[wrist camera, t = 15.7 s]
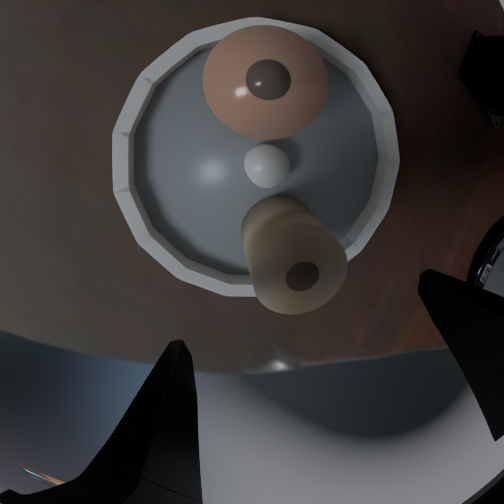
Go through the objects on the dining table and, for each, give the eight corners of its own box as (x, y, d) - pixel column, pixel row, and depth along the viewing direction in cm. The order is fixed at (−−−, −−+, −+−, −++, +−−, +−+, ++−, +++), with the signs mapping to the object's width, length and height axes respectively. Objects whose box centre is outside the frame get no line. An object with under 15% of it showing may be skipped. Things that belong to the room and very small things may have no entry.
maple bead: (308, 188, 14) (347, 221, 10) (315, 253, 16) (347, 301, 12) (233, 204, 14) (243, 245, 10) (249, 269, 16) (262, 324, 12)
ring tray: (413, 125, 14) (433, 130, 12) (299, 303, 19) (307, 322, 17) (205, -7, 9) (205, -23, 7) (93, 223, 14) (80, 238, 12)
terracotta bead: (282, 48, 10) (315, 21, 6) (297, 123, 12) (337, 130, 8) (198, 62, 10) (191, 36, 6) (216, 139, 12) (217, 151, 8)
